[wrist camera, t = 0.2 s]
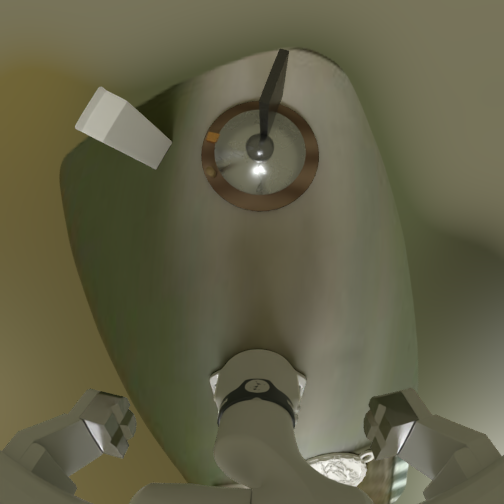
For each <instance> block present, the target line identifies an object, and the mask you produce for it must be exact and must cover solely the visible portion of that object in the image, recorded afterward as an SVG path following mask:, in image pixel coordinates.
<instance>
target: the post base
mask: <svg viewBox="0 0 504 504" xmlns="http://www.w3.org/2000/svg"><path fill="white" fill-rule="evenodd" d="M250 110H259V101H252V102H247V103H243V104H240V105H237V106H235V107H232V108H231V109H229V110H227V111H226V112H224V113H223V114H222V115H220V116H219V117H218V118H217V119H216V120H215V121H214V123H213V124H212V125H211V127H210V128H209V130H208V132H207V134H206V136H205V139H204V142H203V146H202V165H203V169H204V173H205V175H206V178H207V180H208V182H209V183H210V185H211V186H212V188H213V189H214V190H215V191H216V192H217V193H218V194H219V195H220V196H221V197H222V198H223V199H225V200H226V201H228V202H229V203H231V204H233V205H235V206H237V207H240V208H243V209H247V210H252V211H269V210H274V209H278V208H281V207H284V206H286V205H288V204H290V203H291V202H293V201H295V200H296V199H297V198H298V197H300V196H301V195H302V194H303V193H304V192H305V191H306V190H307V188H308V187H309V186H310V184H311V183H312V181H313V179H314V177H315V174H316V171H317V168H318V162H319V151H318V145H317V141H316V138H315V136H314V133H313V131H312V130H311V128H310V126H309V125H308V124H307V122H306V121H305V120H304V119H303V118H302V117H301V116H300V115H298V114H297V113H296V112H295V111H293V110H291V109H290V108H288V107H285V106H283V105H281V104H280V105H279V107H278V110H277V113H279V114H281V115H283V116H285V117H286V118H288V119H289V120H290V121H292V122H293V123H294V124H295V125H296V127H297V128H298V129H299V131H300V132H301V134H302V136H303V139H304V142H305V147H306V157H305V162H304V165H303V168H302V170H301V172H300V174H299V175H298V177H297V178H296V179H295V180H294V181H293V182H292V183H291V184H290V185H289V186H288V187H286V188H285V189H283V190H281V191H279V192H276V193H273V194H269V195H251V194H247V193H244V192H242V191H239V190H238V189H236V188H234V187H233V186H231V185H230V184H229V183H228V182H227V181H226V180H225V179H224V177H223V176H222V175H221V173H220V171H219V169H218V167H217V165H216V161H215V155H214V149H215V144H213V143H209V142H207V141H206V138H207V136H208V133H209V132H213V133H217V134H219V132H220V131H221V129H222V128H223V127H224V125H225V124H226V123H227V122H228V121H229V120H231V119H232V118H233V117H235V116H237V115H239V114H241V113H243V112H246V111H250Z"/></svg>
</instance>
